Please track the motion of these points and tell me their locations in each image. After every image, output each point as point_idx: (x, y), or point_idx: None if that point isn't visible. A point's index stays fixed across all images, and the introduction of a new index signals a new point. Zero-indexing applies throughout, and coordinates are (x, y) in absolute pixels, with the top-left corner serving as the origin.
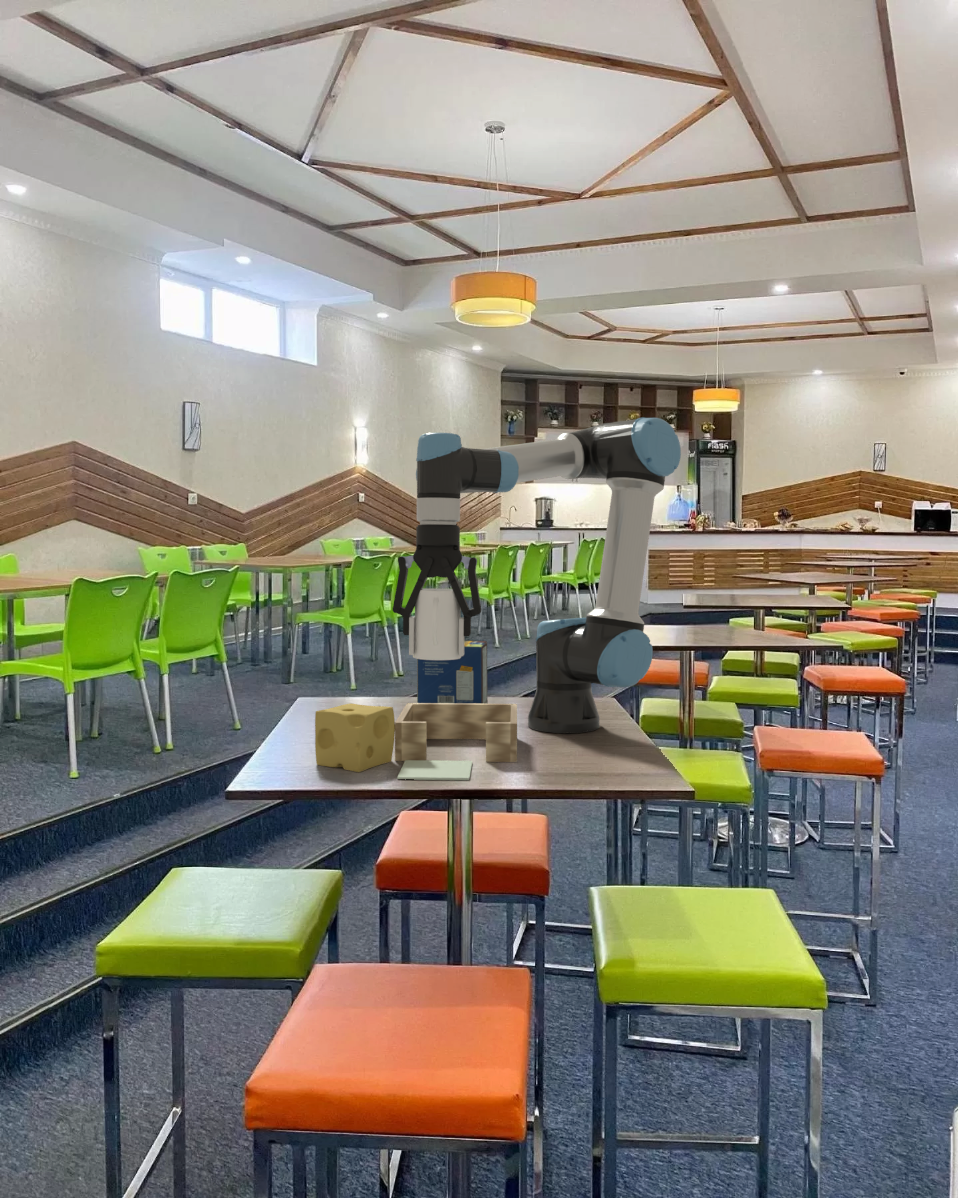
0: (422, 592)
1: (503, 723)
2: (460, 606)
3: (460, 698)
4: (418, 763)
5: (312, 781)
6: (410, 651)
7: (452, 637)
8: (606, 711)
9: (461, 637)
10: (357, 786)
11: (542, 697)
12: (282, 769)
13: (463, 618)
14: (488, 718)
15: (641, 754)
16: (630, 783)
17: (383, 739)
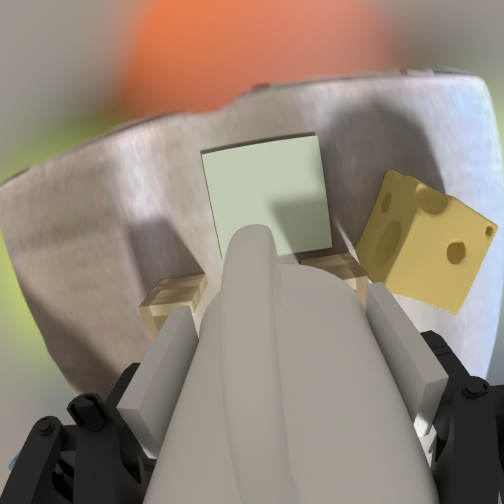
0: None
1: (160, 304)
2: (109, 466)
3: None
4: (306, 229)
5: (429, 115)
6: (380, 289)
7: (200, 350)
8: None
9: (157, 346)
10: (363, 92)
11: None
12: (478, 178)
13: (120, 413)
14: None
15: (50, 335)
16: (25, 201)
17: (375, 239)
